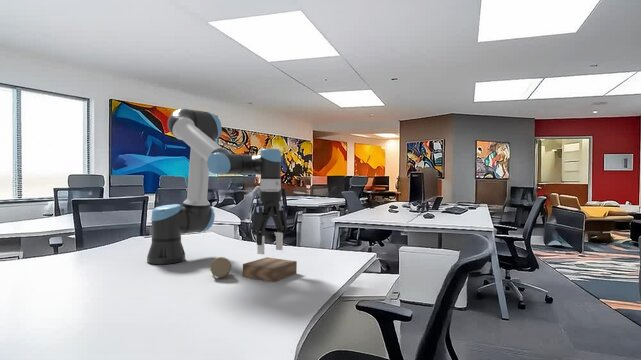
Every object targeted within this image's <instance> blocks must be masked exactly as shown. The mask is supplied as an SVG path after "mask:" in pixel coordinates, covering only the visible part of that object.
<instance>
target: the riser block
mask: <svg viewBox="0 0 641 360" xmlns="http://www.w3.org/2000/svg"><path fill="white" fill-rule="evenodd" d="M297 265H298V263H297V260H292V259H291V260H289V259H282V258H276V257H275V258H274V257H267V256H266V257H263V258H259V259H256V260H252V261H249V262H246V263H245V262H244V263H242V277H243V278H249V279H254V280H259V281H264V282H270V283H276V282H278V281H281V280H283V279H287V278H288V277H292V276H295V275H297V270H298V269H297Z"/></svg>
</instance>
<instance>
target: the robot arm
mask: <svg viewBox="0 0 641 360" xmlns="http://www.w3.org/2000/svg"><path fill="white" fill-rule="evenodd" d="M167 129H168V131H169V132H170V134H171V135H172V136H173V137H174V138H176V139H177V140H180V141H182V142H184V143H185V144H186V145H188V146H189V147H190V154H189V167H188V180H187V195H186V199H185V200H184V201H183V202H182V205H181V204H179V203H177V204H176V203H175V204H166V205H165V204H164V205H159V206H156V207H154V208H153V209H152V211H151V219H150V220H151V243H150V247H149V250H148V253H147V256H146V263H148V264H154V265H166V264H167V265H168V264H177V263H181V262H183V261H185V260H186V252H185V249H184V246H183V243H182V235H183V234H193V233H202V232H207V231H208V230H210V228H211V227H213V225H214V222H215V217H216V216H215V212H214V211H215V210H214V208H213V207H212V206H211V202H209V200H208V189H209V176H210V173H211V174H214V175H220V176H221V175H245V176H252V175H253V176H254V175H259V176H260V177H259V178H260V183H259V185H260V187H259V189H260V190H261V191H260V197H259V198H260V199H259V200H260V202H261V205H260V206H255V208H254V212H255V214H254V218H253V225H252V231H251V234H252V235H254V236H256V245H257V247H256V248H257V249H256V250H257V255H258V254H259V255H265V235H264V233H265V230H266V226H267V224H268V221H269V219H270V218H271V217H272V220H273V222H274V225H275V228H276V231H277V232H275V250H277V251H283V245H284V244H283V241H284V233H286V231H287V230H288V223H287V217H286V205H285V204H280V202H281V200H282V192H281V189H282V187H281V186H282V161H283V160H282V152H281V150H280V149H278V148H262V149H260V153H259V154H241V153H230V152H228V151H227V150H226V149H225V148H224V147H222V146H220V144H218V143H217V142H216V140H217V139H219V138H220V137H221V134H222V131H223V130H222V129H223V127H222V123H221V120H220V118H219V116H217V114H216V113H212V112H209V111H202V110H195V109H188V108H179V109H177V110H175V111H173V112H172V113H171V114H170V115H169V116H168V119H167Z"/></svg>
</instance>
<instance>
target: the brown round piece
mask: <svg viewBox="0 0 641 360" xmlns="http://www.w3.org/2000/svg"><path fill="white" fill-rule="evenodd" d="M231 270H232V262H231V261H230V260H229V259H228V258H226V257H225V256H224V257H223V256H218V257H217V258H214V259H213V261H212V262H211V264H210V270H209V271H210V272H211V274H212V275H213V276H215V277H216V278H225V277H226V276H229V274H230V272H231Z"/></svg>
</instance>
